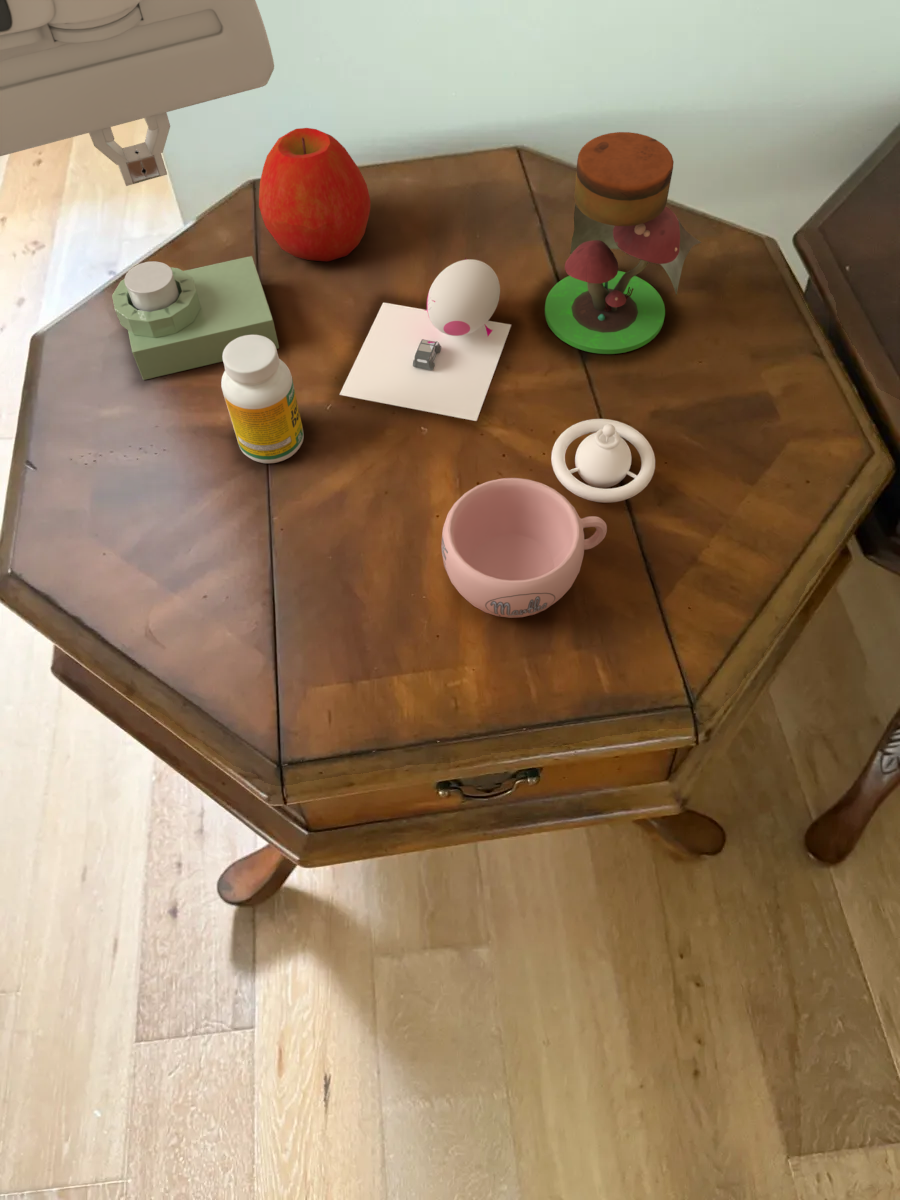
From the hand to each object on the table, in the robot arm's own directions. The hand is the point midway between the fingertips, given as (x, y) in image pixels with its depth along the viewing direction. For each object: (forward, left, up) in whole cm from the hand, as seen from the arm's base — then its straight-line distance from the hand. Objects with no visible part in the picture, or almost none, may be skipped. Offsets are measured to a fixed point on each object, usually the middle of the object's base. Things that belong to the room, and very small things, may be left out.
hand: (144, 176), depth 66 cm
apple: (+14, +16, -20) cm, 29 cm away
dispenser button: (-2, +7, -15) cm, 17 cm away
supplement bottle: (+4, -8, -20) cm, 22 cm away
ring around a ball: (+28, -20, -20) cm, 39 cm away
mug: (+19, -27, -20) cm, 38 cm away
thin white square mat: (+18, -3, -20) cm, 27 cm away
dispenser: (+1, +7, -20) cm, 21 cm away
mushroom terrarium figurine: (+36, -3, -20) cm, 41 cm away
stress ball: (+22, 0, -19) cm, 29 cm away
